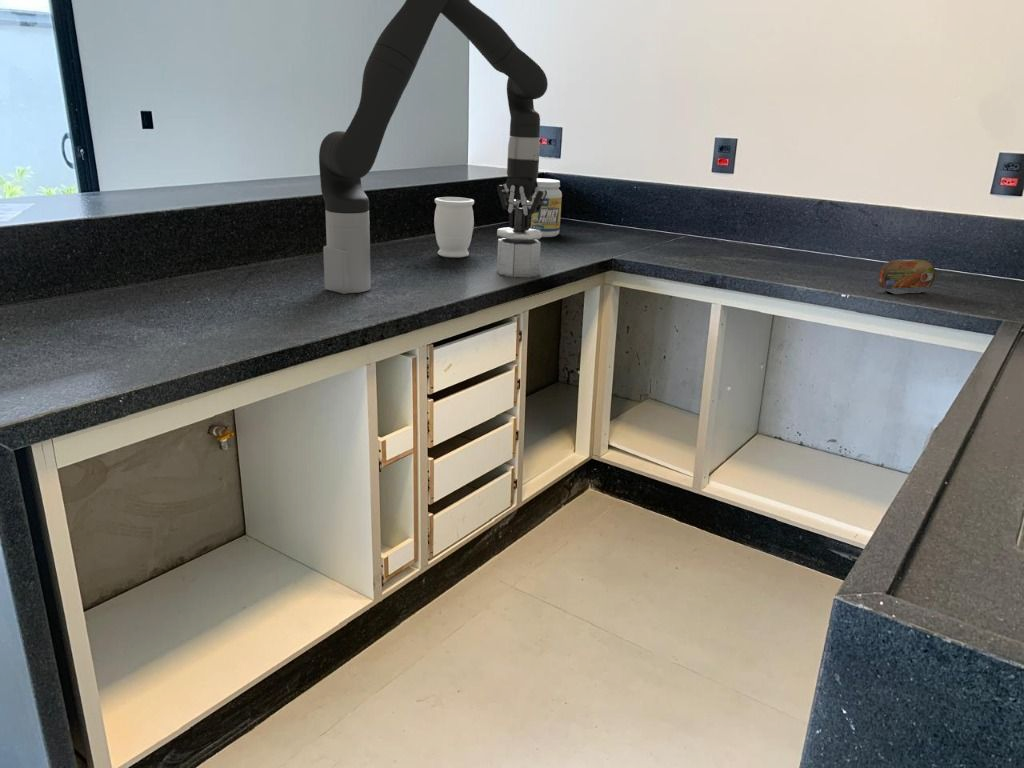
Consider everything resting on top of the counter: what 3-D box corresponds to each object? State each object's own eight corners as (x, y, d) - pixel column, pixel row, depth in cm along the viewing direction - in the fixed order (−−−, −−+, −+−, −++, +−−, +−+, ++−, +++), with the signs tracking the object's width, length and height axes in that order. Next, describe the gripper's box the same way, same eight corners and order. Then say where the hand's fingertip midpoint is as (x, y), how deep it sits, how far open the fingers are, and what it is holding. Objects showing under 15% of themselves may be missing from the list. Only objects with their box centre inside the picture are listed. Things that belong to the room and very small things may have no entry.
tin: (881, 295, 194) (889, 261, 191) (873, 291, 197) (880, 258, 194) (932, 293, 198) (940, 260, 195) (923, 290, 201) (930, 257, 198)
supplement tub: (533, 238, 244) (536, 182, 238) (514, 231, 254) (516, 177, 248) (566, 236, 250) (570, 182, 244) (546, 230, 260) (549, 177, 254)
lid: (525, 241, 188) (526, 213, 185) (488, 235, 194) (489, 207, 191) (550, 236, 196) (551, 209, 194) (513, 230, 202) (515, 203, 200)
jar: (475, 252, 220) (476, 197, 214) (469, 260, 210) (471, 202, 205) (437, 250, 221) (438, 195, 215) (430, 257, 211) (431, 200, 206)
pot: (522, 279, 192) (524, 246, 189) (489, 272, 197) (491, 240, 194) (545, 273, 199) (547, 241, 197) (513, 266, 205) (514, 235, 202)
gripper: (490, 154, 189) (487, 227, 195) (539, 159, 182) (534, 235, 188) (508, 153, 195) (505, 223, 201) (556, 158, 187) (551, 231, 193)
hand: (519, 228), depth 194 cm, fingers closed on lid, 3 cm apart
